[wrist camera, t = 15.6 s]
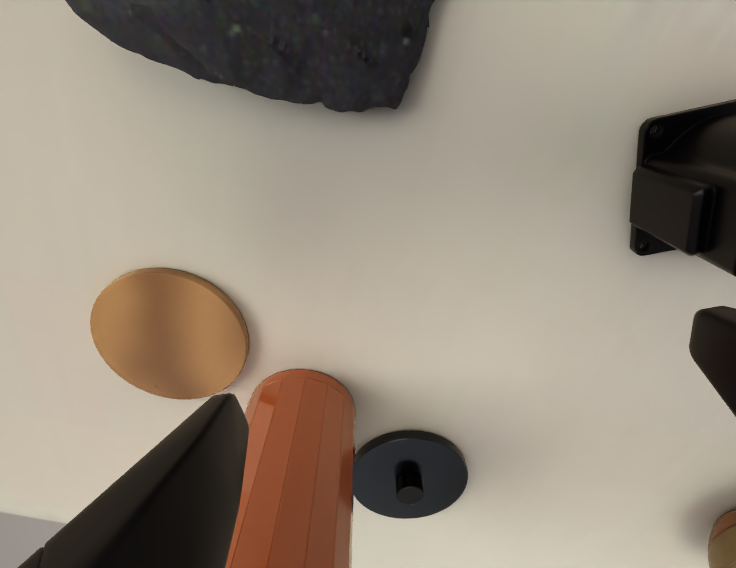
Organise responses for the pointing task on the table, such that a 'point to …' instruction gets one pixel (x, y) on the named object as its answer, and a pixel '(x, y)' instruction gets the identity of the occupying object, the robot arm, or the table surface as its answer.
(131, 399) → the table surface
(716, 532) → the ceramic vessel
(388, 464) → the lid
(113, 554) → the robot arm
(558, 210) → the table surface
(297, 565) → the pot
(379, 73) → the dark slate chunk
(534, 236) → the table surface
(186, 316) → the coaster
